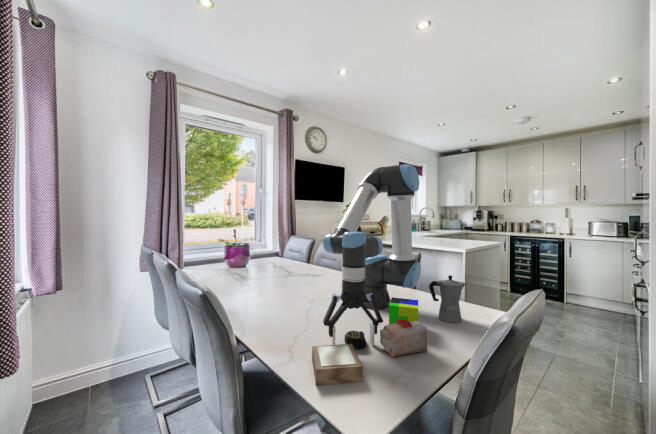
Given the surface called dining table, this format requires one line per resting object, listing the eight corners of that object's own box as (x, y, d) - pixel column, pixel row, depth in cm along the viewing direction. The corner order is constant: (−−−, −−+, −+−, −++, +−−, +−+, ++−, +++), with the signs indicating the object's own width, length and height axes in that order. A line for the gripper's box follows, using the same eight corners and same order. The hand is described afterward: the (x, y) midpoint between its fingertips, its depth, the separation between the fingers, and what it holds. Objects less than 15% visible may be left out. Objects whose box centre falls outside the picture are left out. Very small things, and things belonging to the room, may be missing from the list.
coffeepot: (459, 314, 116) (460, 272, 116) (471, 323, 107) (472, 278, 106) (424, 314, 115) (424, 273, 115) (433, 323, 106) (434, 278, 106)
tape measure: (366, 351, 85) (366, 339, 84) (344, 350, 85) (344, 338, 85) (364, 341, 91) (364, 330, 91) (344, 340, 92) (344, 329, 92)
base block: (351, 357, 81) (352, 343, 81) (362, 381, 69) (362, 365, 69) (312, 359, 79) (312, 345, 79) (316, 385, 67) (316, 368, 67)
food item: (391, 360, 79) (391, 327, 79) (378, 347, 87) (378, 317, 87) (429, 353, 83) (430, 321, 83) (414, 341, 91) (414, 312, 91)
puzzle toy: (418, 325, 104) (418, 300, 104) (417, 336, 95) (418, 308, 94) (391, 322, 107) (391, 297, 107) (388, 332, 98) (389, 305, 98)
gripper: (385, 275, 93) (384, 337, 93) (315, 277, 90) (314, 341, 90) (393, 280, 86) (392, 348, 86) (317, 283, 82) (317, 353, 82)
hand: (352, 345), depth 88 cm, fingers open, 12 cm apart
